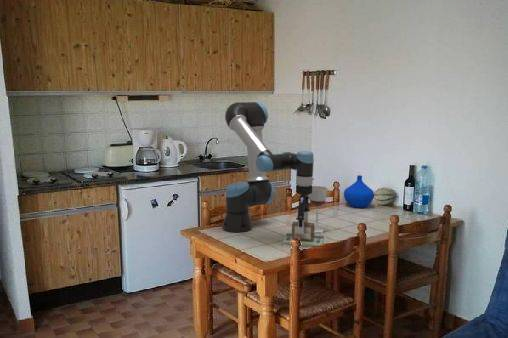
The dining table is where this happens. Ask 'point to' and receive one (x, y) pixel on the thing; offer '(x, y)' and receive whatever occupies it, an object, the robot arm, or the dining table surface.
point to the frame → (308, 231)
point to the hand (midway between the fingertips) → (302, 229)
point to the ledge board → (317, 241)
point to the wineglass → (318, 201)
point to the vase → (358, 194)
